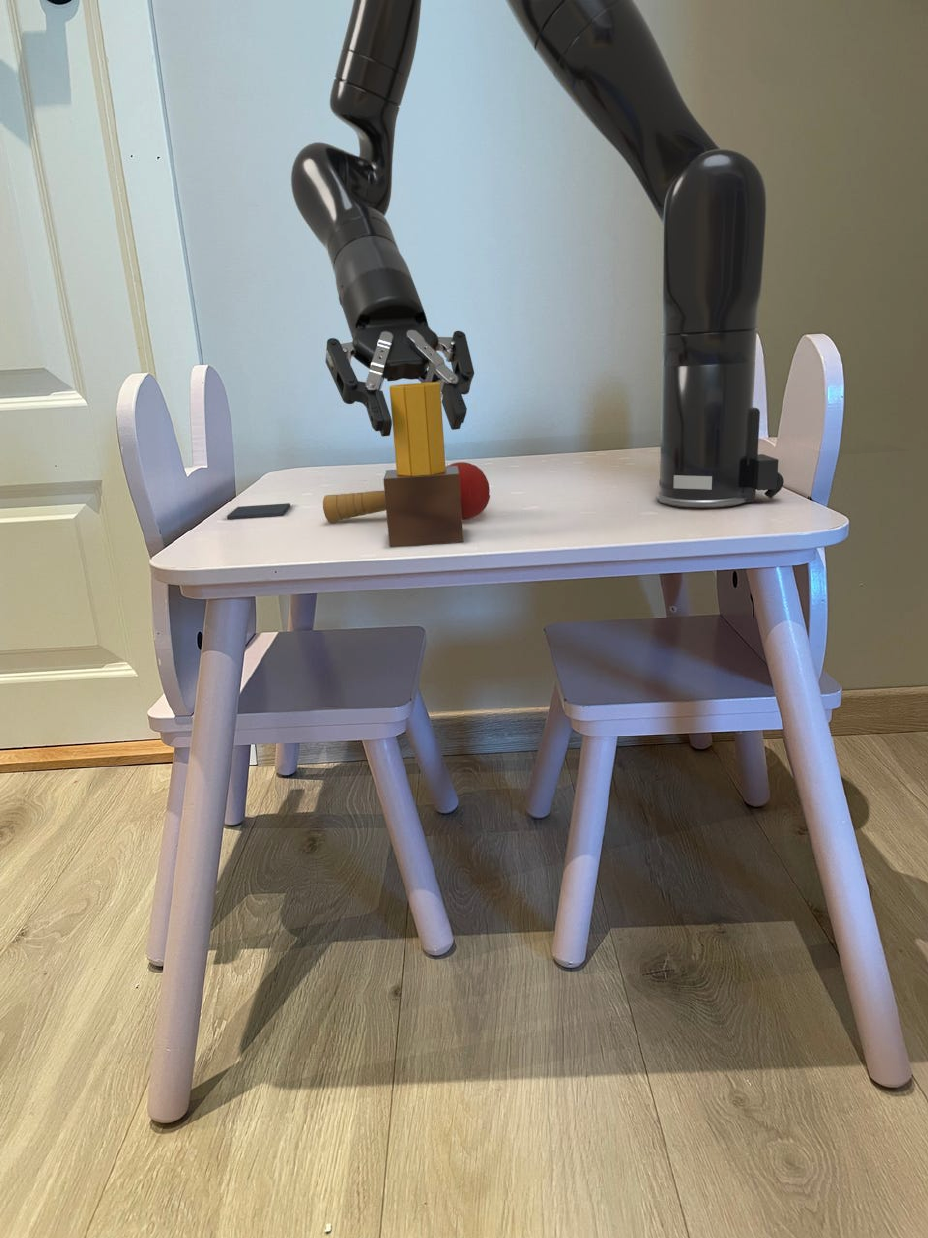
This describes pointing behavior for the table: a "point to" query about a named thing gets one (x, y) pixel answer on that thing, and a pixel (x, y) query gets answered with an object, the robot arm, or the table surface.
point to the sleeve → (418, 428)
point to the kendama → (359, 504)
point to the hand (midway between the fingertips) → (423, 426)
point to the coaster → (259, 511)
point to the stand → (423, 508)
